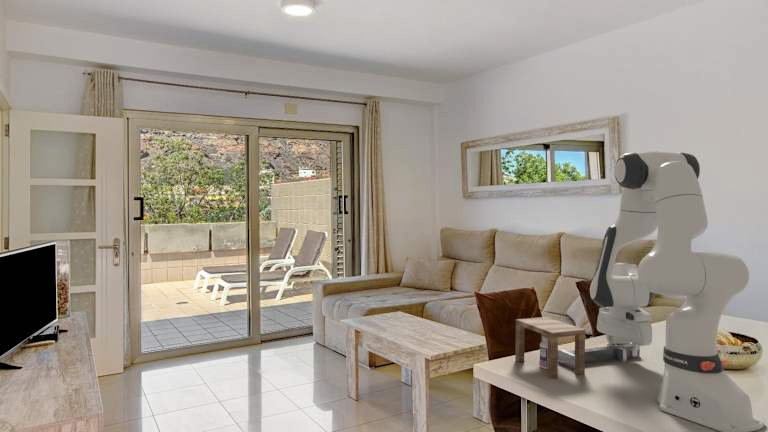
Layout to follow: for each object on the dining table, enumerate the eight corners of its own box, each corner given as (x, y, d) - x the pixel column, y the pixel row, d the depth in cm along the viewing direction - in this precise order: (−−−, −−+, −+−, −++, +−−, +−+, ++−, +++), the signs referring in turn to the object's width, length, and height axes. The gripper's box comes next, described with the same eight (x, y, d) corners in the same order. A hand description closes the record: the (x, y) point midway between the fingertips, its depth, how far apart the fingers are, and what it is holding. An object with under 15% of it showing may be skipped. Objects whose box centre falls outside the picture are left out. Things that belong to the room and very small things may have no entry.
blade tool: (646, 359, 164) (646, 347, 164) (574, 369, 154) (574, 356, 154) (627, 353, 172) (627, 341, 172) (557, 361, 162) (557, 349, 162)
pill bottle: (557, 365, 158) (557, 334, 158) (558, 370, 153) (558, 339, 152) (539, 363, 159) (539, 333, 159) (539, 369, 154) (540, 337, 154)
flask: (626, 340, 188) (626, 314, 188) (634, 345, 181) (634, 318, 181) (606, 339, 189) (606, 313, 189) (613, 344, 182) (613, 317, 182)
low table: (584, 374, 149) (585, 329, 149) (551, 378, 145) (552, 332, 145) (545, 357, 166) (546, 316, 166) (515, 360, 162) (515, 319, 162)
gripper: (592, 305, 175) (592, 344, 175) (640, 317, 155) (640, 361, 156) (606, 304, 177) (606, 342, 177) (656, 316, 158) (655, 359, 158)
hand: (622, 351), depth 166 cm, fingers open, 8 cm apart
